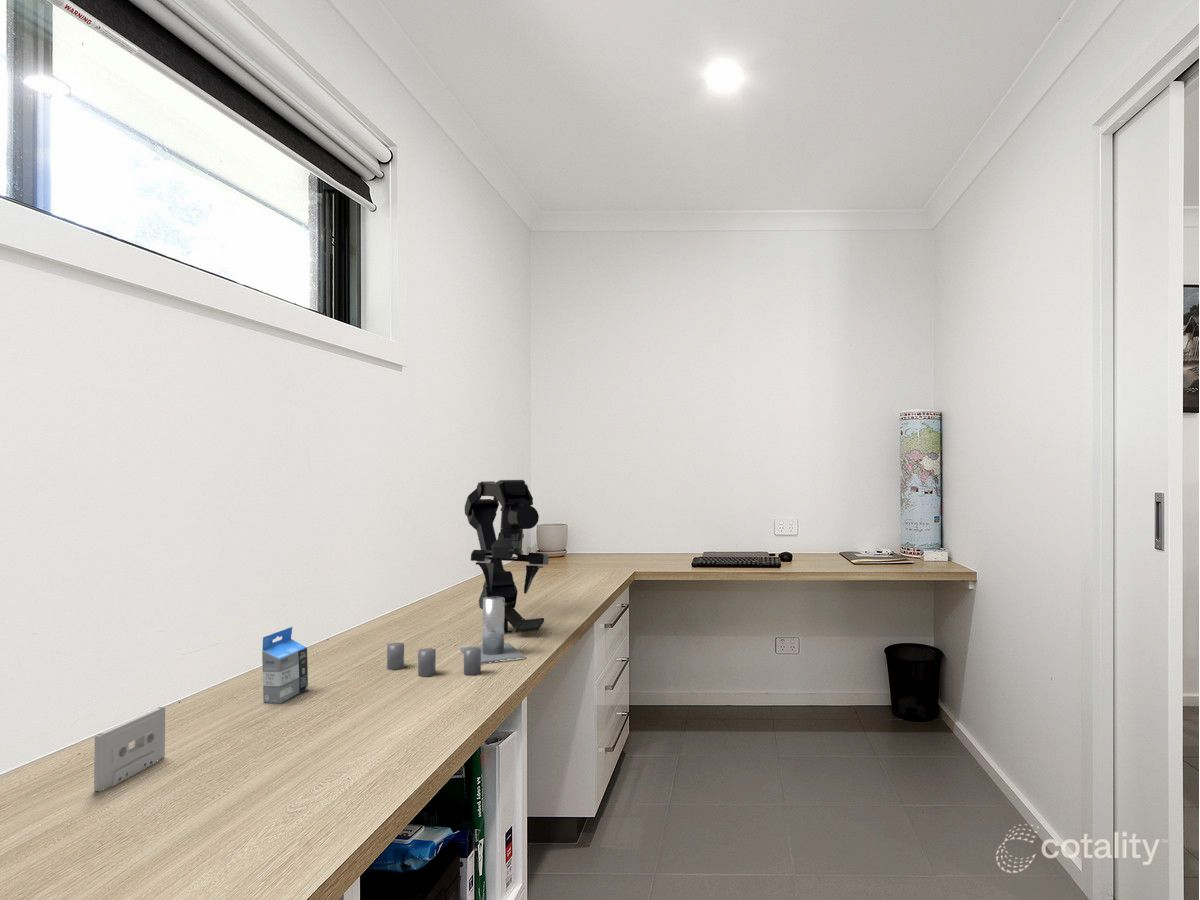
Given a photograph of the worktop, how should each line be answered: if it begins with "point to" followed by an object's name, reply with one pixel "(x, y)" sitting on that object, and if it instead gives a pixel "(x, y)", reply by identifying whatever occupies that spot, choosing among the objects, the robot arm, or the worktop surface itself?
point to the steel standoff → (493, 625)
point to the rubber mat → (508, 654)
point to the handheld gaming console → (522, 621)
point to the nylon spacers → (431, 660)
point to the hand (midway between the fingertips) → (507, 592)
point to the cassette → (122, 761)
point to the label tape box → (283, 667)
